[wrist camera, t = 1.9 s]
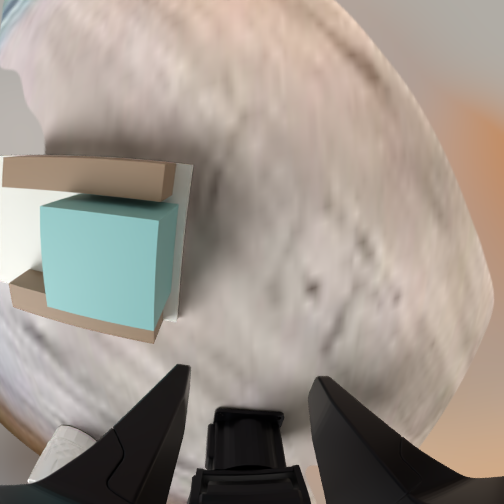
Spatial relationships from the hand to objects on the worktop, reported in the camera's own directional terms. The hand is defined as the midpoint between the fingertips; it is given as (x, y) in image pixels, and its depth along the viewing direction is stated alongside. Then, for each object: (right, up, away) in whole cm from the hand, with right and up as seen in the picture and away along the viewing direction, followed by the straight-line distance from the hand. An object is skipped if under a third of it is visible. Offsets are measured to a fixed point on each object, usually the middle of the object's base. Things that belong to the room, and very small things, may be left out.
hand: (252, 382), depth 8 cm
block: (-8, +5, +10) cm, 14 cm away
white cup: (-22, -20, +18) cm, 35 cm away
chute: (-15, +6, +10) cm, 19 cm away
